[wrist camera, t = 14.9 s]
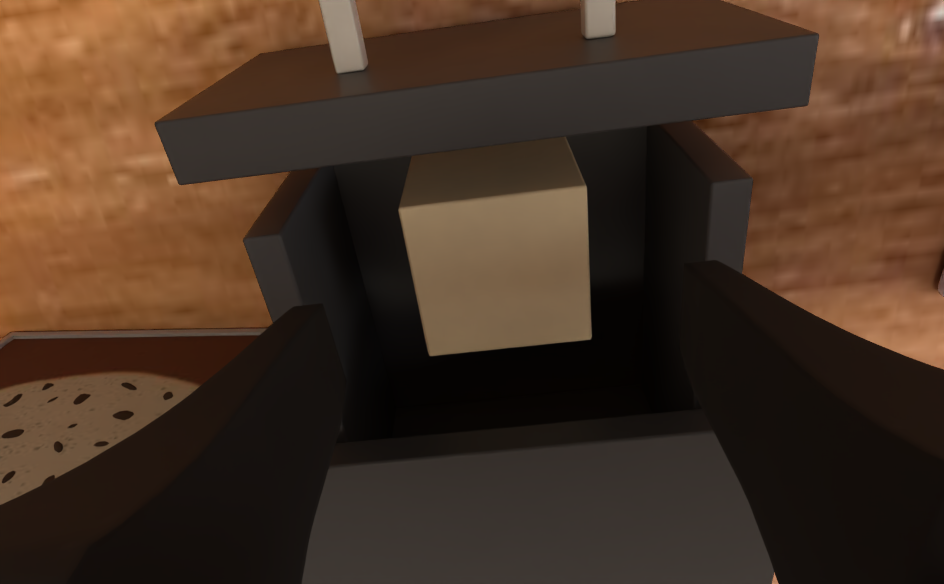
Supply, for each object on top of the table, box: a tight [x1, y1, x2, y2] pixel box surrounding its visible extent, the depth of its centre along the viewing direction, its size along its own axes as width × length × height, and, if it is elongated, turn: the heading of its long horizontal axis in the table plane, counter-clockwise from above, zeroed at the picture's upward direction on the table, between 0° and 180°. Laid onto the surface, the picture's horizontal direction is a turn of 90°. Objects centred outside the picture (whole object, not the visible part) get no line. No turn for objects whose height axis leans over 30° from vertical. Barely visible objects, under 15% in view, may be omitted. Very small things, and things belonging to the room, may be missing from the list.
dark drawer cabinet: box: [302, 409, 774, 584], centre depth 21 cm, size 14×13×8 cm
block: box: [398, 137, 592, 356], centre depth 15 cm, size 4×4×4 cm
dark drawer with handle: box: [155, 0, 819, 443], centre depth 15 cm, size 17×11×6 cm
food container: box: [0, 328, 267, 505], centre depth 19 cm, size 12×6×10 cm, turn 91°
